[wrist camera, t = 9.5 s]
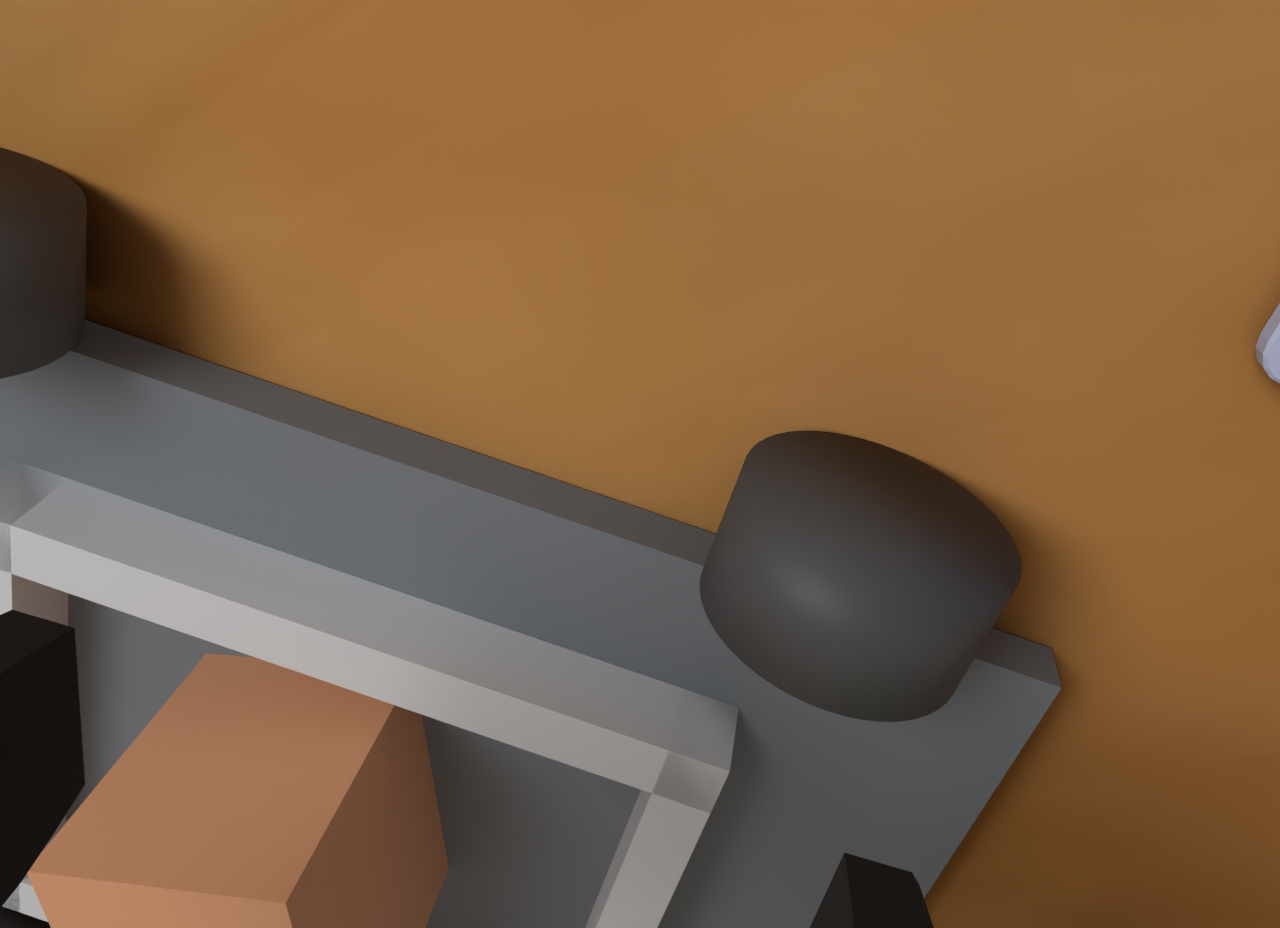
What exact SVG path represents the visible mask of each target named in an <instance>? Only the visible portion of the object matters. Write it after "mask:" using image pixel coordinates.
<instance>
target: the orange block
mask: <svg viewBox="0 0 1280 928" xmlns="http://www.w3.org/2000/svg"><path fill="white" fill-rule="evenodd" d="M448 871H449V866H448V860H447V855H446V849H445V843H444V838H443V832H442V826H441V821H440V815H439V810H438V804H437V798H436V793H435V787H434V781H433V776H432V770H431V765H430V759H429V753H428V748H427V742H426V737H425V731H424V725H423V720H422V714H419V713H416V712H413V711H410V710H407V709H404V708H401V707H398V706H396V705H393V704H390V703H387V702H384V701H381V700H378V699H375V698H372V697H369V696H366V695H363V694H361V693H358V692H355V691H352V690H349V689H346V688H343V687H340V686H337V685H334V684H331V683H328V682H326V681H323V680H320V679H317V678H314V677H311V676H308V675H305V674H302V673H299V672H296V671H294V670H291V669H288V668H285V667H282V666H279V665H276V664H273V663H270V662H267V661H264V660H261V659H259V658H256V657H244V656H232V655H220V654H208V653H206V654H205V656H204V657H203V658H202V659H201V660H200V662H199V663H198V664H197V665H196V666H195V668H194V669H193V670H192V671H191V673H190V674H189V675H188V676H187V677H186V679H185V680H184V681H183V682H182V683H181V685H180V686H179V687H178V688H177V689H176V691H175V692H174V693H173V694H172V695H171V697H170V698H169V699H168V700H167V702H166V703H165V704H164V705H163V706H162V708H161V709H160V710H159V711H158V712H157V714H156V715H155V716H154V717H153V718H152V720H151V721H150V722H149V723H148V725H147V726H146V727H145V728H144V729H143V731H142V732H141V733H140V734H139V735H138V737H137V738H136V739H135V740H134V741H133V743H132V744H131V745H130V746H129V747H128V749H127V750H126V751H125V752H124V754H123V755H122V756H121V757H120V758H119V760H118V761H117V762H116V763H115V764H114V766H113V767H112V768H111V769H110V770H109V772H108V773H107V774H106V775H105V776H104V778H103V779H102V780H101V781H100V783H99V784H98V785H97V786H96V787H95V789H94V790H93V791H92V792H91V793H90V795H89V796H88V797H87V798H86V799H85V801H84V802H83V803H82V804H81V805H80V807H79V808H78V809H77V810H76V812H75V813H74V814H73V815H72V816H71V818H70V819H69V820H68V821H67V822H66V824H65V825H64V826H63V827H62V828H61V830H60V831H59V832H58V833H57V834H56V836H55V837H54V838H53V839H52V841H51V842H50V843H49V844H48V845H47V847H46V848H45V849H44V850H43V851H42V853H41V854H40V855H39V856H38V858H37V859H36V861H35V862H34V864H33V865H32V867H31V868H30V870H29V871H28V873H27V875H28V877H29V879H30V882H31V884H32V886H33V888H34V891H35V893H36V895H37V897H38V900H39V902H40V904H41V907H42V909H43V911H44V913H45V916H46V918H47V920H48V922H49V925H50V927H51V928H425V927H426V925H427V922H428V920H429V917H430V915H431V913H432V910H433V908H434V905H435V903H436V900H437V898H438V895H439V893H440V890H441V888H442V885H443V883H444V881H445V878H446V876H447V873H448Z"/></svg>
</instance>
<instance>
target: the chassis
mask: <svg viewBox="0 0 1280 928" xmlns="http://www.w3.org/2000/svg"><path fill="white" fill-rule="evenodd" d="M86 230H87V200H86V197H85V195H84V192H83V191H82V190H81V188H80V187H79V186H78V185H77V184H76V183H75V182H74V181H73V180H72V179H71V178H69V177H68V176H66V175H65V174H63V173H62V172H60V171H58V170H57V169H55V168H53V167H51V166H49V165H47V164H45V163H43V162H40V161H38V160H36V159H33V158H30V157H28V156H25V155H22V154H19V153H16V152H13V151H10V150H6V149H3V148H0V615H1V614H4V613H6V612H8V611H10V610H15V611H19V612H22V613H26V614H29V615H33V616H36V617H39V618H43V619H46V620H50V621H53V622H57V623H60V624H63V625H67V626H70V627H74V628H75V640H76V655H77V670H78V685H79V700H80V715H81V730H82V745H83V760H84V775H85V785H84V787H83V788H82V790H81V792H80V793H79V795H78V796H77V798H76V799H75V801H74V803H73V804H72V806H71V807H70V809H69V810H68V812H67V814H66V815H65V817H64V818H63V820H62V821H61V823H60V825H59V826H58V828H57V829H56V831H55V832H54V834H53V836H52V837H51V839H50V840H49V842H48V843H47V845H48V844H49V843H50V842H51V841H52V839H53V838H54V837H55V836H56V834H57V833H58V832H59V831H60V830H61V828H62V827H63V826H64V825H65V824H66V822H67V821H68V820H69V819H70V818H71V816H72V815H73V814H74V813H75V812H76V810H77V809H78V808H79V807H80V805H81V804H82V803H83V802H84V801H85V799H86V798H87V797H88V796H89V795H90V793H91V792H92V791H93V790H94V789H95V787H96V786H97V785H98V784H99V783H100V781H101V780H102V779H103V778H104V776H105V775H106V774H107V773H108V772H109V770H110V769H111V768H112V767H113V766H114V764H115V763H116V762H117V761H118V760H119V758H120V757H121V756H122V755H123V754H124V752H125V751H126V750H127V749H128V747H129V746H130V745H131V744H132V743H133V741H134V740H135V739H136V738H137V737H138V735H139V734H140V733H141V732H142V731H143V729H144V728H145V727H146V726H147V725H148V723H149V722H150V721H151V720H152V718H153V717H154V716H155V715H156V714H157V712H158V711H159V710H160V709H161V708H162V706H163V705H164V704H165V703H166V702H167V700H168V699H169V698H170V697H171V695H172V694H173V693H174V692H175V691H176V689H177V688H178V687H179V686H180V685H181V683H182V682H183V681H184V680H185V679H186V677H187V676H188V675H189V674H190V673H191V671H192V670H193V669H194V668H195V666H196V665H197V664H198V663H199V662H200V660H201V659H202V658H203V657H204V656H205V654H206V653H208V654H220V655H232V656H244V657H256V658H259V659H261V660H264V661H267V662H270V663H273V664H276V665H279V666H282V667H285V668H288V669H291V670H294V671H296V672H299V673H302V674H305V675H308V676H311V677H314V678H317V679H320V680H323V681H326V682H328V683H331V684H334V685H337V686H340V687H343V688H346V689H349V690H352V691H355V692H358V693H361V694H363V695H366V696H369V697H372V698H375V699H378V700H381V701H384V702H387V703H390V704H393V705H396V706H398V707H401V708H404V709H407V710H410V711H413V712H416V713H419V714H422V720H423V725H424V731H425V737H426V742H427V748H428V753H429V759H430V765H431V770H432V776H433V781H434V787H435V793H436V798H437V804H438V810H439V815H440V821H441V826H442V832H443V838H444V843H445V849H446V855H447V860H448V866H449V871H448V873H447V876H446V878H445V881H444V883H443V885H442V888H441V890H440V893H439V895H438V898H437V900H436V903H435V905H434V908H433V910H432V913H431V915H430V917H429V920H428V922H427V925H426V927H425V928H810V926H811V924H812V922H813V919H814V917H815V915H816V913H817V911H818V909H819V906H820V904H821V902H822V900H823V898H824V896H825V893H826V891H827V889H828V887H829V885H830V883H831V880H832V878H833V876H834V874H835V872H836V870H837V867H838V865H839V863H840V861H841V859H842V857H843V854H844V853H848V854H851V855H855V856H858V857H862V858H865V859H868V860H872V861H875V862H879V863H882V864H886V865H889V866H892V867H896V868H899V869H903V870H906V871H910V872H912V873H913V875H914V876H915V878H916V880H917V881H918V883H919V885H920V888H921V891H922V894H923V897H924V898H925V896H926V895H927V893H928V892H929V890H930V889H931V887H932V886H933V884H934V883H935V881H936V880H937V878H938V877H939V875H940V873H941V872H942V870H943V869H944V867H945V866H946V864H947V863H948V861H949V860H950V858H951V857H952V855H953V854H954V852H955V851H956V849H957V847H958V846H959V844H960V843H961V841H962V840H963V838H964V837H965V835H966V834H967V832H968V831H969V829H970V828H971V826H972V824H973V823H974V821H975V820H976V818H977V817H978V815H979V814H980V812H981V811H982V809H983V808H984V806H985V805H986V803H987V802H988V800H989V798H990V797H991V795H992V794H993V792H994V791H995V789H996V788H997V786H998V785H999V783H1000V782H1001V780H1002V779H1003V777H1004V775H1005V774H1006V772H1007V771H1008V769H1009V768H1010V766H1011V765H1012V763H1013V762H1014V760H1015V759H1016V757H1017V756H1018V754H1019V752H1020V751H1021V749H1022V748H1023V746H1024V745H1025V743H1026V742H1027V740H1028V739H1029V737H1030V736H1031V734H1032V733H1033V731H1034V730H1035V728H1036V726H1037V725H1038V723H1039V722H1040V720H1041V719H1042V717H1043V716H1044V714H1045V713H1046V711H1047V710H1048V708H1049V707H1050V705H1051V703H1052V702H1053V700H1054V699H1055V697H1056V696H1057V694H1058V693H1059V691H1060V690H1061V688H1062V687H1061V683H1060V679H1059V675H1058V671H1057V667H1056V663H1055V659H1054V655H1053V651H1052V648H1050V647H1047V646H1044V645H1041V644H1038V643H1035V642H1032V641H1029V640H1026V639H1023V638H1020V637H1017V636H1014V635H1011V634H1008V633H1005V632H1003V631H1000V630H997V629H994V628H993V626H994V624H995V622H996V621H997V619H998V617H999V616H1000V614H1001V612H1002V611H1003V609H1004V607H1005V605H1006V604H1007V602H1008V600H1009V599H1010V597H1011V595H1012V593H1013V592H1014V590H1015V588H1016V587H1017V584H1018V582H1019V580H1020V577H1021V569H1022V567H1021V560H1020V555H1019V553H1018V550H1017V547H1016V545H1015V543H1014V541H1013V539H1012V537H1011V536H1010V534H1009V533H1008V531H1007V530H1006V528H1005V527H1004V526H1003V524H1002V523H1001V522H1000V521H999V520H998V518H997V517H996V516H995V515H994V514H993V513H992V512H991V511H990V510H989V509H988V508H987V507H986V506H985V505H984V504H983V503H982V502H981V501H979V500H978V499H977V498H976V497H975V496H973V495H972V494H971V493H970V492H968V491H967V490H966V489H964V488H963V487H962V486H960V485H959V484H958V483H956V482H955V481H953V480H951V479H950V478H948V477H947V476H945V475H944V474H942V473H940V472H939V471H937V470H935V469H933V468H932V467H930V466H928V465H926V464H924V463H922V462H920V461H918V460H916V459H914V458H912V457H910V456H908V455H905V454H903V453H901V452H898V451H896V450H893V449H891V448H888V447H885V446H883V445H880V444H877V443H874V442H870V441H867V440H864V439H860V438H856V437H852V436H847V435H842V434H836V433H830V432H820V431H793V432H786V433H780V434H776V435H773V436H770V437H768V438H766V439H764V440H762V441H760V442H759V443H757V444H756V445H755V446H754V447H753V448H752V449H751V450H750V452H749V453H748V455H747V457H746V459H745V462H744V464H743V467H742V469H741V472H740V475H739V477H738V480H737V482H736V485H735V487H734V490H733V492H732V495H731V498H730V500H729V503H728V505H727V508H726V510H725V513H724V515H723V518H722V521H721V523H720V526H719V528H718V531H717V533H716V534H714V533H711V532H708V531H705V530H702V529H699V528H696V527H694V526H691V525H688V524H685V523H682V522H679V521H676V520H673V519H670V518H667V517H664V516H661V515H658V514H655V513H652V512H649V511H646V510H643V509H641V508H638V507H635V506H632V505H629V504H626V503H623V502H620V501H617V500H614V499H611V498H608V497H605V496H602V495H599V494H596V493H593V492H591V491H588V490H585V489H582V488H579V487H576V486H573V485H570V484H567V483H564V482H561V481H558V480H555V479H552V478H549V477H546V476H543V475H540V474H538V473H535V472H532V471H529V470H526V469H523V468H520V467H517V466H514V465H511V464H508V463H505V462H502V461H499V460H496V459H493V458H490V457H488V456H485V455H482V454H479V453H476V452H473V451H470V450H467V449H464V448H461V447H458V446H455V445H452V444H449V443H446V442H443V441H440V440H437V439H435V438H432V437H429V436H426V435H423V434H420V433H417V432H414V431H411V430H408V429H405V428H402V427H399V426H396V425H393V424H390V423H387V422H385V421H382V420H379V419H376V418H373V417H370V416H367V415H364V414H361V413H358V412H355V411H352V410H349V409H346V408H343V407H340V406H337V405H334V404H332V403H329V402H326V401H323V400H320V399H317V398H314V397H311V396H308V395H305V394H302V393H299V392H296V391H293V390H290V389H287V388H284V387H282V386H279V385H276V384H273V383H270V382H267V381H264V380H261V379H258V378H255V377H252V376H249V375H246V374H243V373H240V372H237V371H234V370H231V369H229V368H226V367H223V366H220V365H217V364H214V363H211V362H208V361H205V360H202V359H199V358H196V357H193V356H190V355H187V354H184V353H181V352H179V351H176V350H173V349H170V348H167V347H164V346H161V345H158V344H155V343H152V342H149V341H146V340H143V339H140V338H137V337H134V336H131V335H128V334H126V333H123V332H120V331H117V330H114V329H111V328H108V327H105V326H102V325H99V324H96V323H93V322H90V321H87V320H85V291H86ZM47 845H46V846H45V848H46V847H47ZM45 848H44V849H45ZM44 849H43V850H44ZM41 853H42V852H41ZM0 928H51V927H50V925H49V922H48V920H47V918H46V916H45V913H44V911H43V909H42V907H41V904H40V902H39V900H38V897H37V895H36V893H35V891H34V888H33V886H32V884H31V882H30V879H29V877H28V875H27V874H26V876H25V877H24V879H23V880H22V882H21V883H20V884H19V886H18V887H17V888H16V890H15V891H14V892H13V893H12V894H11V896H10V897H9V898H8V899H7V901H6V902H5V903H4V904H3V906H2V907H1V908H0Z"/></svg>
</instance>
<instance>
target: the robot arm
mask: <svg viewBox="0 0 1280 928" xmlns="http://www.w3.org/2000/svg"><path fill="white" fill-rule="evenodd" d="M1256 359H1257V360H1258V362H1259V364H1260V365H1261V367H1262V368H1263V370H1264V371H1265V372H1266V373H1267V375H1268V376H1269V377H1270V378H1271V379H1272V380H1274V381H1276V382H1277V383H1279V384H1280V303H1279V305H1278V306H1277V308H1276V310H1275V311H1274V313H1273V314H1272V316H1271V317H1270V319H1269V321H1268V322H1267V324H1266V325H1265V327H1264V328H1263V330H1262V332H1261V333H1260V336H1259V338H1258V341H1257V344H1256ZM84 785H85V775H84V760H83V745H82V730H81V715H80V700H79V685H78V670H77V655H76V640H75V628H74V627H70V626H67V625H63V624H60V623H57V622H53V621H50V620H46V619H43V618H39V617H36V616H33V615H29V614H26V613H22V612H19V611H15V610H10V611H8V612H6V613H4V614H1V615H0V908H1V907H2V906H3V904H4V903H5V902H6V901H7V899H8V898H9V897H10V896H11V894H12V893H13V892H14V891H15V890H16V888H17V887H18V886H19V884H20V883H21V882H22V880H23V879H24V877H25V876H26V874H27V873H28V871H29V870H30V868H31V867H32V865H33V864H34V862H35V861H36V859H37V858H38V856H39V855H40V854H41V852H42V851H43V849H44V848H45V846H46V845H47V843H48V842H49V840H50V839H51V837H52V836H53V834H54V832H55V831H56V829H57V828H58V826H59V825H60V823H61V821H62V820H63V818H64V817H65V815H66V814H67V812H68V810H69V809H70V807H71V806H72V804H73V803H74V801H75V799H76V798H77V796H78V795H79V793H80V792H81V790H82V788H83V787H84ZM810 928H933V925H932V922H931V919H930V916H929V913H928V910H927V907H926V904H925V900H924V897H923V894H922V891H921V888H920V885H919V883H918V881H917V880H916V878H915V876H914V875H913V873H912V872H910V871H906V870H903V869H899V868H896V867H892V866H889V865H886V864H882V863H879V862H875V861H872V860H868V859H865V858H862V857H858V856H855V855H851V854H848V853H844V854H843V857H842V859H841V861H840V863H839V865H838V867H837V870H836V872H835V874H834V876H833V878H832V880H831V883H830V885H829V887H828V889H827V891H826V893H825V896H824V898H823V900H822V902H821V904H820V906H819V909H818V911H817V913H816V915H815V917H814V919H813V922H812V924H811V926H810Z"/></svg>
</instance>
